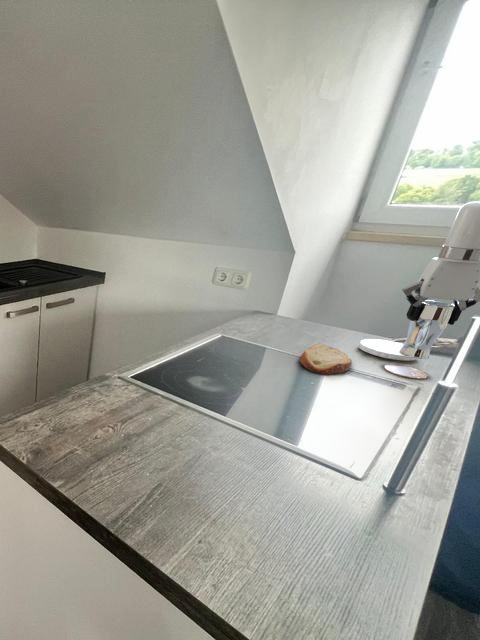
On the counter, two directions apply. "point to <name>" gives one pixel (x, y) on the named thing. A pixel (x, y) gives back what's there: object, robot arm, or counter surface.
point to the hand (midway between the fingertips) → (429, 320)
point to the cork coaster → (405, 371)
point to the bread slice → (325, 360)
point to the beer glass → (426, 328)
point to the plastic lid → (383, 349)
